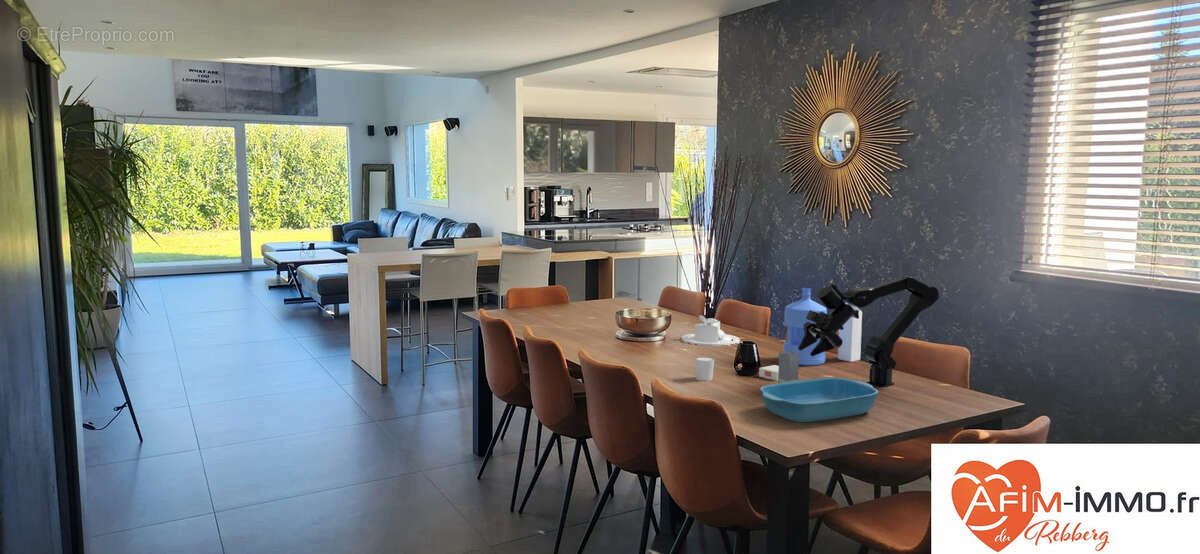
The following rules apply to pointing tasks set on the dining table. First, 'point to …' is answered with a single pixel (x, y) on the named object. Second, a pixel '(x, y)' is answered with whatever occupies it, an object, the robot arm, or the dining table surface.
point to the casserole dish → (819, 399)
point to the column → (788, 367)
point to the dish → (709, 334)
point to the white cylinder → (704, 368)
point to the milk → (851, 338)
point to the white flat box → (769, 372)
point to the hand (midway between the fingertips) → (804, 352)
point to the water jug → (795, 322)
